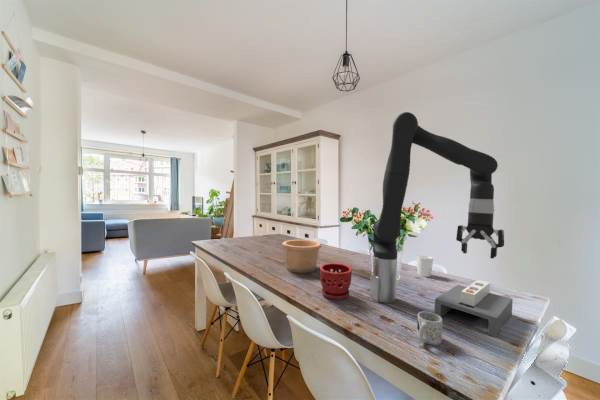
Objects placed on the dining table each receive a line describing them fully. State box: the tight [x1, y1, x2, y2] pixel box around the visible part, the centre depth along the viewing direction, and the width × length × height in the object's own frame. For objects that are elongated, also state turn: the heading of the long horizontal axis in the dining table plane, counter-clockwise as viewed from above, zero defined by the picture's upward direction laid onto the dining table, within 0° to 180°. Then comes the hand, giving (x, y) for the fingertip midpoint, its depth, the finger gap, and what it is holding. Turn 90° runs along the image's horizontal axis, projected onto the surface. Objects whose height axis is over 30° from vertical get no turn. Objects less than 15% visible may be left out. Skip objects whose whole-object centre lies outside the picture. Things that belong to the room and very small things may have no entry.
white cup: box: [416, 254, 434, 278], centre depth 140 cm, size 8×8×10 cm
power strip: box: [461, 279, 491, 308], centre depth 95 cm, size 20×4×7 cm, turn 131°
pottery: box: [281, 239, 322, 274], centre depth 145 cm, size 22×22×14 cm
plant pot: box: [319, 262, 353, 300], centre depth 108 cm, size 13×13×12 cm
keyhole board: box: [433, 284, 514, 338], centre depth 94 cm, size 24×18×6 cm
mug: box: [416, 311, 443, 346], centre depth 76 cm, size 10×7×7 cm, turn 133°
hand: (478, 255), depth 94 cm, fingers open, 8 cm apart
